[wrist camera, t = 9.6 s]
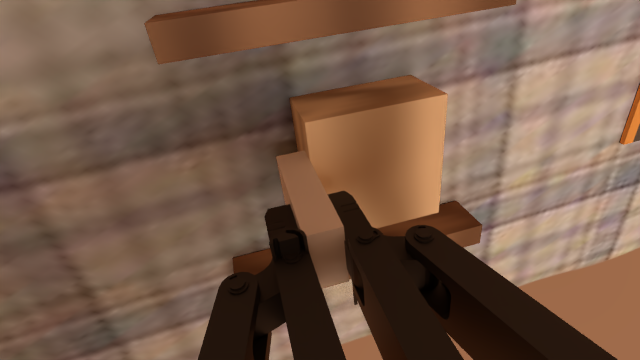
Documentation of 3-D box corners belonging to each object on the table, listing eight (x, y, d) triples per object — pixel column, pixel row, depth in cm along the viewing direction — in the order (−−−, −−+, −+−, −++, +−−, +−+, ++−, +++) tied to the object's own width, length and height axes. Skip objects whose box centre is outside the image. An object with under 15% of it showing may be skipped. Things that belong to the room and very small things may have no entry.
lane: (238, 274, 24) (241, 309, 22) (155, 15, 16) (144, 23, 14) (454, 217, 27) (479, 242, 24) (479, -33, 19) (521, -34, 16)
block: (305, 203, 23) (321, 242, 20) (288, 96, 20) (304, 122, 16) (407, 179, 24) (438, 212, 21) (409, 74, 21) (447, 94, 17)
